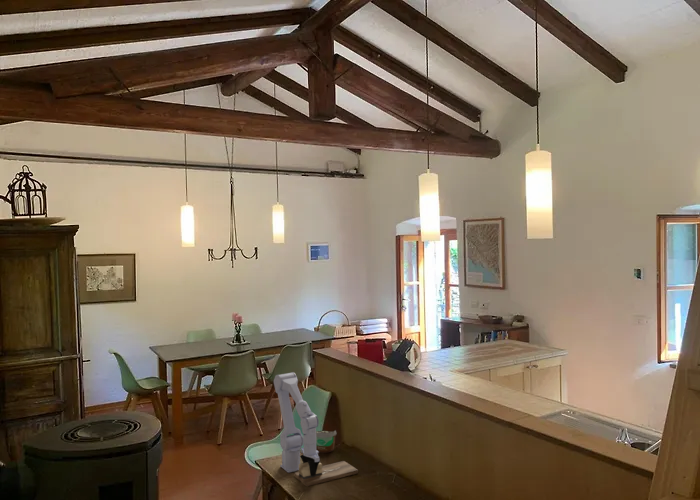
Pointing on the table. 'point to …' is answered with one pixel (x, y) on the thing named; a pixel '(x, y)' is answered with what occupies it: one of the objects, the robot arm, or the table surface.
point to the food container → (325, 441)
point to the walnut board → (329, 473)
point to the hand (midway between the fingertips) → (310, 473)
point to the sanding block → (308, 470)
